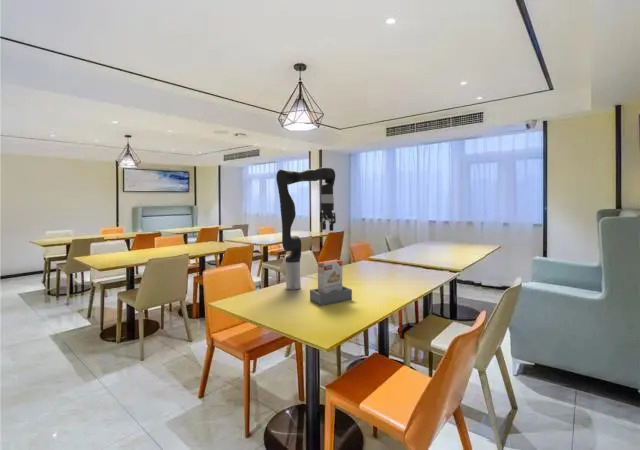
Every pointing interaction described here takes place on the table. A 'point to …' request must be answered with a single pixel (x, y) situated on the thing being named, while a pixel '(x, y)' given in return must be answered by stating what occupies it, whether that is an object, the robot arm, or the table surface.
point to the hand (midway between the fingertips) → (327, 230)
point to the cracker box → (329, 276)
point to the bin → (331, 296)
